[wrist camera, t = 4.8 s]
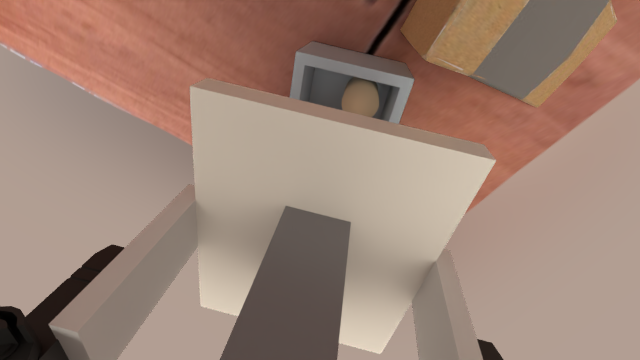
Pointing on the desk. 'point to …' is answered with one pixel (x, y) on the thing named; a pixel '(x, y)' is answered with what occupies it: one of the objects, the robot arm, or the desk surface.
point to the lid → (318, 218)
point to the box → (351, 81)
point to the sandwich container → (510, 40)
